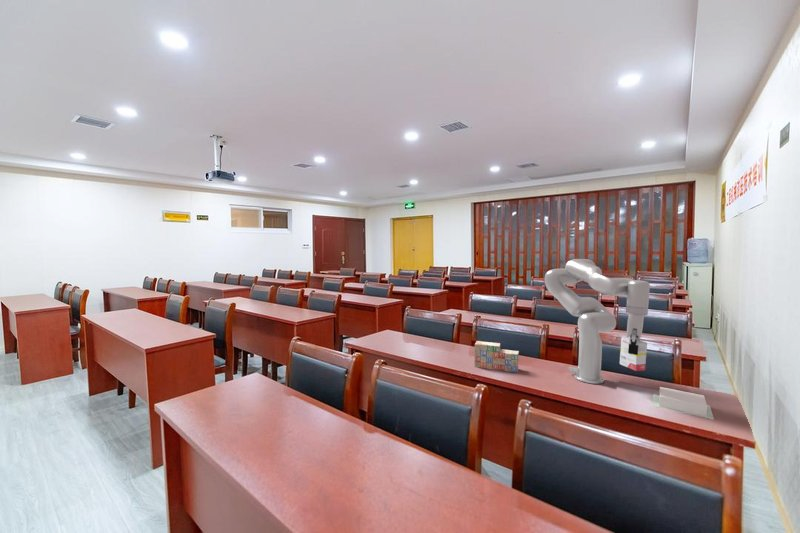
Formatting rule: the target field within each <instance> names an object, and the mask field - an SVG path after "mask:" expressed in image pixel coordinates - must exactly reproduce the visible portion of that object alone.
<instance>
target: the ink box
mask: <svg viewBox="0 0 800 533" xmlns="http://www.w3.org/2000/svg"><path fill="white" fill-rule="evenodd" d="M620 339H621V340H620V353H619V365H621V366H623V367H626V368H628V369H630V370H633V371H635V372H639V371H646V363H647V362H646V360H647V352H648V351H647V350H648V342H645V341H644V340H641V339H639V340H638V355H634V354H629V353H628V349H629V344H630V337H628V338H627V337H626V336H622V337H621V338H620Z"/></svg>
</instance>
